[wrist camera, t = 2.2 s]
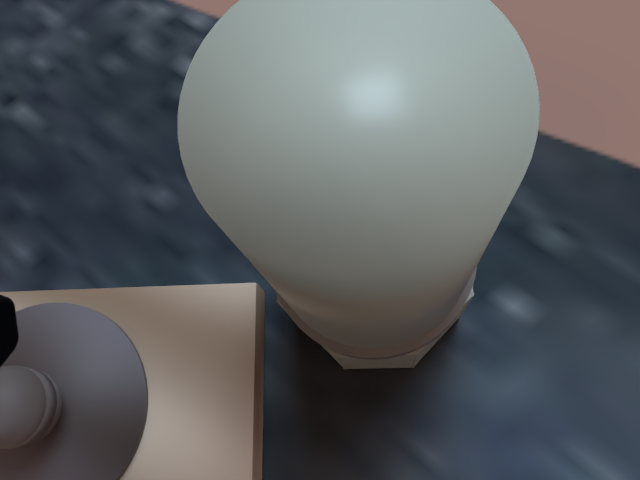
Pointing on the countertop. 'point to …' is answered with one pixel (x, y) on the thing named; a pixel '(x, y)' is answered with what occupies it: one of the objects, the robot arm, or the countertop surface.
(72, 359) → the mounting board
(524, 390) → the countertop surface
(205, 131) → the light bulb
